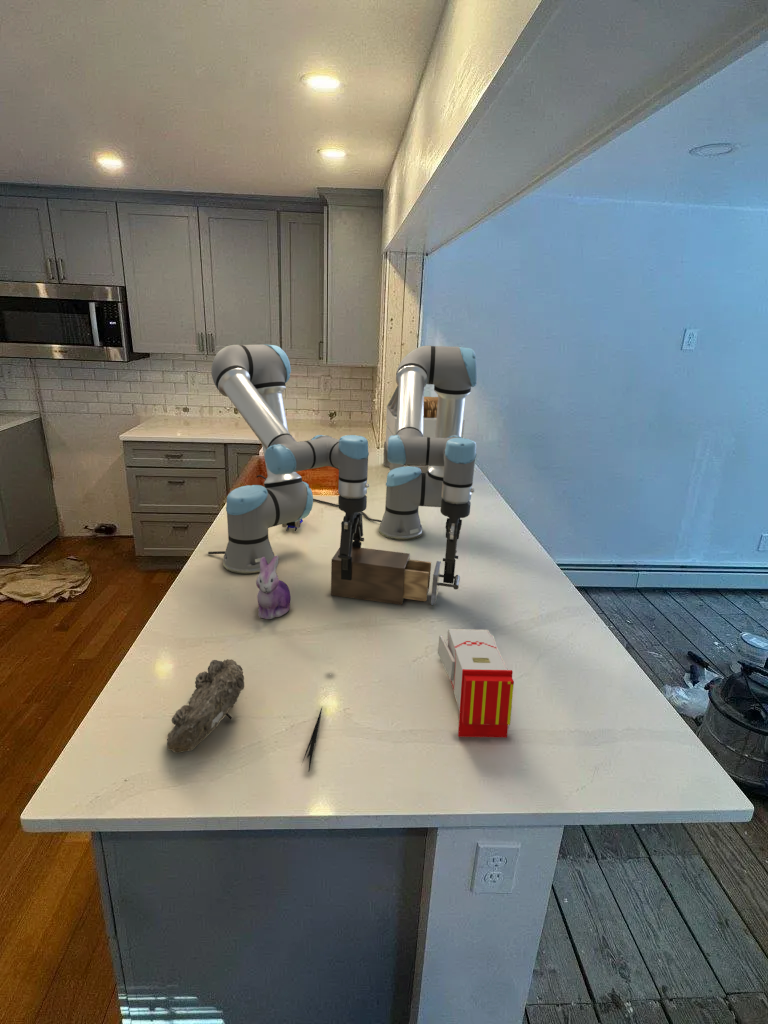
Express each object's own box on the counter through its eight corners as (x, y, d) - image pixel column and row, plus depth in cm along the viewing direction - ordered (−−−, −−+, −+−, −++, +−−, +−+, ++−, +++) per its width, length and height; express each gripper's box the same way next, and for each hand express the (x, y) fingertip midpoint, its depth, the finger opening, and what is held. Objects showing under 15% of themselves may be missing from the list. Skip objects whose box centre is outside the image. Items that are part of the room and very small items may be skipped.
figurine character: (300, 537, 196) (305, 517, 210) (300, 518, 193) (305, 499, 206) (281, 536, 196) (287, 517, 209) (280, 517, 193) (286, 498, 206)
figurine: (261, 624, 140) (259, 569, 134) (250, 605, 148) (248, 552, 143) (298, 616, 144) (297, 562, 139) (285, 598, 152) (284, 547, 147)
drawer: (458, 592, 158) (461, 563, 155) (456, 608, 150) (459, 577, 147) (373, 581, 162) (374, 553, 159) (366, 596, 154) (368, 566, 151)
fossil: (192, 660, 117) (244, 628, 112) (224, 691, 120) (276, 661, 115) (142, 746, 98) (202, 712, 93) (182, 779, 101) (242, 748, 96)
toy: (488, 613, 130) (523, 677, 101) (484, 667, 133) (517, 744, 104) (435, 612, 130) (455, 676, 101) (432, 666, 133) (451, 743, 103)
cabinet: (407, 588, 161) (410, 553, 158) (402, 604, 152) (404, 568, 148) (340, 579, 165) (341, 545, 161) (330, 595, 155) (331, 559, 152)
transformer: (382, 463, 289) (386, 382, 275) (445, 464, 293) (451, 384, 279) (390, 482, 257) (394, 392, 243) (460, 483, 261) (468, 394, 247)
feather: (331, 679, 122) (336, 673, 122) (307, 777, 96) (313, 769, 95) (324, 675, 122) (329, 669, 121) (298, 772, 95) (304, 764, 95)
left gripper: (356, 509, 139) (354, 591, 146) (375, 484, 160) (372, 556, 167) (326, 506, 140) (326, 587, 148) (349, 481, 161) (348, 553, 168)
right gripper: (469, 509, 138) (460, 595, 146) (472, 493, 150) (463, 573, 158) (438, 506, 139) (431, 591, 148) (443, 490, 151) (437, 569, 160)
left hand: (351, 570), depth 157 cm, fingers closed on cabinet, 10 cm apart
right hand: (448, 581), depth 153 cm, fingers closed
